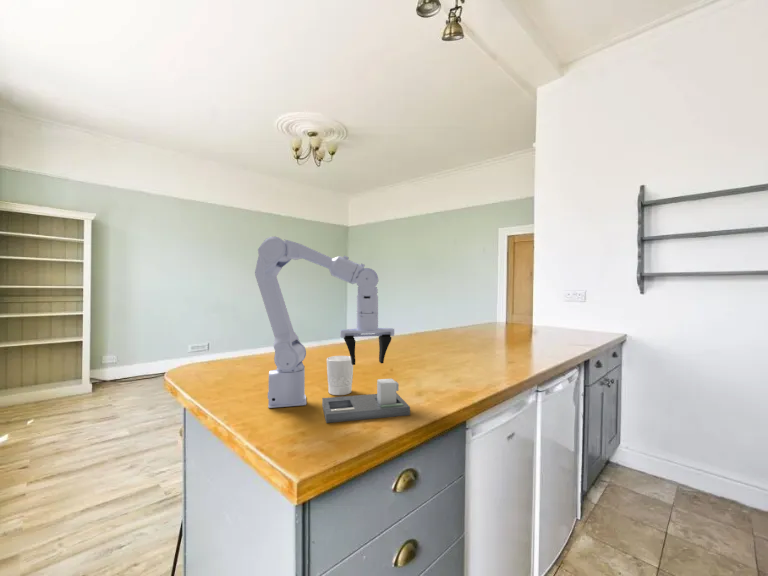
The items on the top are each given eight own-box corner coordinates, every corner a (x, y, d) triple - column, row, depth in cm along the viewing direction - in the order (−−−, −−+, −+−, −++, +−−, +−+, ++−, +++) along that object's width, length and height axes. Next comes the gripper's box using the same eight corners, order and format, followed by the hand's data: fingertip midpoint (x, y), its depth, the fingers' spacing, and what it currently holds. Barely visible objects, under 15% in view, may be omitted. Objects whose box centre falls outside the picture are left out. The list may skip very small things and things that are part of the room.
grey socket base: (326, 423, 79) (326, 413, 79) (322, 405, 91) (322, 397, 91) (409, 415, 84) (409, 405, 84) (396, 399, 96) (396, 391, 96)
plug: (380, 411, 86) (380, 383, 86) (377, 406, 90) (377, 379, 90) (399, 410, 87) (399, 382, 87) (395, 405, 91) (395, 378, 91)
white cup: (327, 388, 106) (327, 355, 106) (353, 387, 107) (353, 355, 107) (325, 396, 98) (325, 361, 98) (353, 395, 99) (353, 360, 99)
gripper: (342, 314, 88) (342, 368, 88) (397, 313, 92) (397, 365, 91) (339, 312, 95) (339, 362, 95) (390, 311, 98) (390, 359, 98)
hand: (367, 363), depth 94 cm, fingers open, 7 cm apart
